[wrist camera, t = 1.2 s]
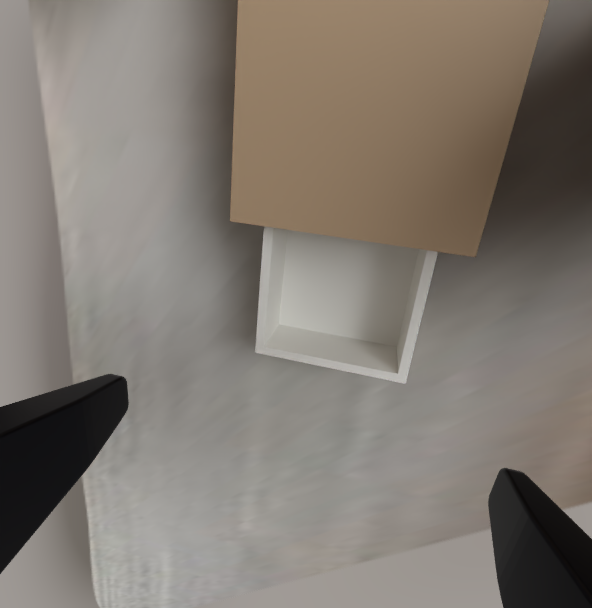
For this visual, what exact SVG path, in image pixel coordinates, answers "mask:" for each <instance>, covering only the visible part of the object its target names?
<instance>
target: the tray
mask: <svg viewBox="0 0 592 608" xmlns="http://www.w3.org/2000/svg"><path fill="white" fill-rule="evenodd" d="M437 255H438V252H436V251H429V250H422V249H416V248H409V247H402V246H395V245H388V244H381V243H375V242H368V241H361V240H354V239H347V238H341V237H334V236H327V235H320V234H313V233H306V232H300V231H293V230H286V229H279V228H272V227H265V226H264V232H263V247H262V261H261V275H260V290H259V304H258V318H257V333H256V347H255V353H259V354H264V355H269V356H274V357H278V358H283V359H288V360H293V361H298V362H303V363H307V364H312V365H317V366H322V367H327V368H332V369H336V370H341V371H346V372H351V373H356V374H361V375H365V376H370V377H375V378H380V379H385V380H389V381H394V382H399V383H404V384H406V380H407V376H408V372H409V368H410V364H411V360H412V356H413V352H414V348H415V344H416V340H417V335H418V331H419V327H420V323H421V319H422V315H423V311H424V307H425V303H426V299H427V295H428V291H429V287H430V283H431V279H432V275H433V271H434V267H435V263H436V259H437Z"/></svg>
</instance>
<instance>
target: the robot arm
mask: <svg viewBox="0 0 592 608" xmlns="http://www.w3.org/2000/svg"><path fill="white" fill-rule="evenodd" d="M128 403H129V402H128V389H127V381H126V379H125V378H124V377H122V376H118V375H114V374H107V375H104V376H100V377H97V378H94V379H91V380H87V381H84V382H81V383H77V384H74V385H71V386H68V387H64V388H61V389H58V390H55V391H51V392H48V393H45V394H42V395H39V396H35V397H32V398H29V399H25V400H22V401H19V402H15V403H12V404H9V405H6V406H3V407H0V574H1V572H2V571H3V570H4V569H5V568H6V566H7V565H8V564H9V563H10V562H11V560H12V559H13V558H14V557H15V555H16V554H17V553H18V552H19V551H20V549H21V548H22V547H23V546H24V544H25V543H26V542H27V541H28V540H29V539H30V537H31V536H32V535H33V534H34V533H35V531H36V530H37V529H38V528H39V527H40V525H41V524H42V523H43V522H44V520H45V519H46V518H47V517H48V516H49V514H50V513H51V512H52V511H53V509H54V508H55V507H56V506H57V505H58V503H59V502H60V501H61V500H62V499H63V498H64V496H65V495H66V494H67V493H68V491H69V490H70V489H71V488H72V487H73V485H74V484H75V483H76V482H77V481H78V479H79V478H80V477H81V476H82V475H83V473H84V472H85V471H86V470H87V468H88V467H89V466H90V464H91V463H92V462H93V460H94V459H95V458H96V456H97V455H98V453H99V452H100V450H101V449H102V447H103V446H104V444H105V443H106V441H107V440H108V439H109V437H110V436H111V434H112V433H113V431H114V430H115V428H116V427H117V425H118V424H119V422H120V421H121V419H122V418H123V416H124V415H125V413H126V411H127V409H128ZM488 507H489V515H490V524H491V532H492V540H493V548H494V556H495V564H496V572H497V579H498V584H499V590H500V595H501V599H502V603H503V607H504V608H592V539H591V538H590V537H589V536H588V535H587V534H586V533H585V532H584V531H583V530H582V529H581V528H580V527H579V526H578V525H577V524H576V523H575V522H574V521H573V520H572V519H571V518H569V516H568V515H567V514H565V512H563V511H562V510H561V509H560V508H559V507H558V506H557V505H556V504H555V503H554V502H553V501H552V500H551V499H550V498H549V497H548V496H547V495H546V494H545V493H544V492H543V491H542V490H541V489H540V488H539V487H538V486H537V485H536V484H535V483H534V482H533V481H532V480H531V479H530V478H529V477H528V476H527V475H525V474H524V473H523V472H520V471H516V470H512V469H508V468H502V469H501V470H500V471H499V473H498V475H497V478H496V480H495V483H494V485H493V488H492V490H491V493H490V495H489V501H488Z"/></svg>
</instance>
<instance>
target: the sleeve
mask: <svg viewBox="0 0 592 608" xmlns="http://www.w3.org/2000/svg"><path fill="white" fill-rule="evenodd" d="M548 3H549V0H238V13H237V40H236V68H235V95H234V123H233V150H232V178H231V206H230V221H231V222H238V223H245V224H252V225H259V226H265V227H272V228H279V229H286V230H293V231H300V232H306V233H313V234H320V235H327V236H334V237H341V238H347V239H354V240H361V241H368V242H375V243H381V244H388V245H395V246H402V247H409V248H416V249H422V250H429V251H436V252H443V253H450V254H457V255H463V256H470V257H476V254H477V251H478V247H479V244H480V240H481V237H482V233H483V230H484V227H485V223H486V220H487V216H488V213H489V209H490V206H491V202H492V199H493V195H494V192H495V188H496V185H497V181H498V178H499V174H500V171H501V167H502V164H503V160H504V157H505V153H506V150H507V146H508V143H509V139H510V136H511V132H512V129H513V125H514V122H515V118H516V115H517V111H518V108H519V104H520V101H521V97H522V94H523V91H524V87H525V84H526V80H527V77H528V73H529V70H530V66H531V63H532V59H533V56H534V52H535V49H536V45H537V42H538V38H539V35H540V31H541V28H542V24H543V21H544V17H545V14H546V10H547V7H548Z"/></svg>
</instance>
